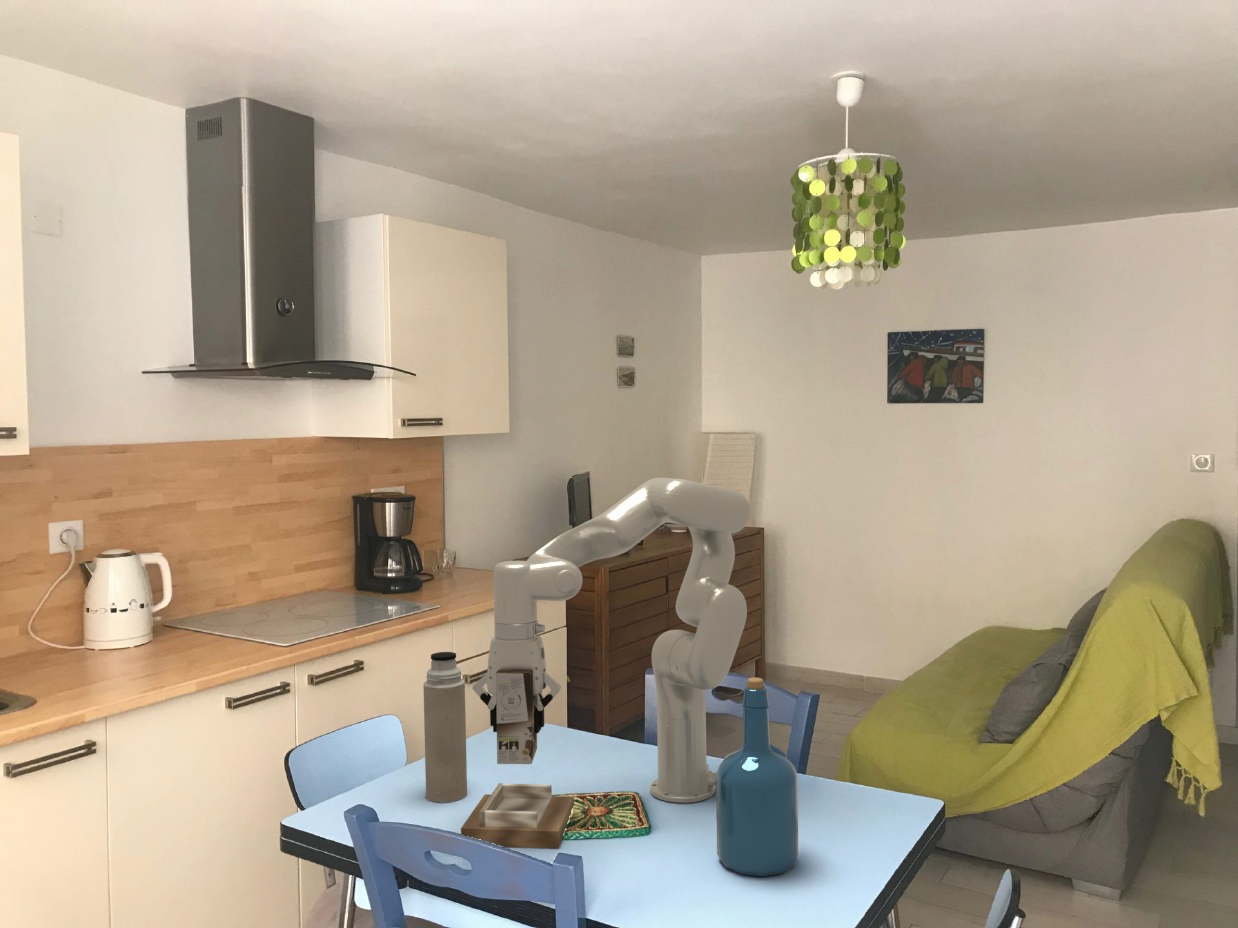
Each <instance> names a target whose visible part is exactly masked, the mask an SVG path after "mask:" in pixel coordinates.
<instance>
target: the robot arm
mask: <svg viewBox="0 0 1238 928" xmlns="http://www.w3.org/2000/svg"><path fill="white" fill-rule="evenodd" d="M750 517H751V505H750V503H749V501H748V499H747V497H745V495H744V494H742V493H741V492H740V491H738V490H735V489H733V488H726V487H720V486H716V485H712V484H707V483H702V482H701V483H700V482H696V481H693V480H689V479H683V478H673V477H654V478H651V479H649V480H646V481H645V482H643V483H642V484H640V485H639V486H638V487H636V488H635V489H633V490H632V491H631V492H629V493H628V494H627V495H625V496H624V497H622V498H621V499H620V500H618V501H617V502H616V503H615V504H613V505H612V506H610V507H609V508H608V509H607V510H604V512H602V513H600V514H599V515H598V516H596V517H594V518H591V519H589V520H587V521H585V522H583V523H581V524H580V525H577V526H575V527H573V528H571V529H569V530H567V531H565V532H563V533H561V534H560V535H558V536H556V537H555V538H553V539H552V540H550V541H549V542H547V543H546V544H544V545H543V546H542V547H541V548H539V549H537V551H535V552H534V553H532V554H531V555H530V556H529V557H528V558H527V560H506V561H501V562H498V563H497V564H496V565H495V566H494V569H493V604H494V605H493V609H494V610H493V613H494V615H493V616H494V622H493V623H494V637H491V640H490V644H489V649H488V650H489V651H488V658H487V659H488V660H487V661H488V662H487V672H486V674H484V675H483V676H482V677H481V678H480V679H479V680H478V681H477V682H476V683H475V684H473V686H472V690H473V692H475V694H476V695H477V696H479V699H480V701H482V702H483V703H484V705H486V706H487V709H488V710H489V717H490V718H489V723H490V726H491V727H492V729H493V730H492V732H493V733H497V716H496V715H497V713H496V672H497V671H498V670H532V671H533V695H534V704H535V706H536V709H535V711H534V732H535V733H537V734H540V731H541V730H542V728H544V727H545V708H546V707H547V706H548V705H549V704H550V702H552V701H553V699H554V698H555V697H556V696H557V695H558V694H559V692H560V691H561V690H562V685H560V684H559V682H557V681H556V680H555V679H554V678H553V677H552V676H550V675H549V674H548V673H547V665H546V655H545V654H546V653H545V646H544V642H543V638H542V637H541V636H538V635H539V634H541V633H545V632H546V625H545V624H541V623H540V622H539V620H538V617H537V615H538V613H537V612H538V611H537V610H538V609H537V607H538V606H537V603H538V602H537V601H548V602H551V601H552V602H564V601H568V600H570V599H573V597H575V596H576V595H577V594H579V592H580V590H581V588H582V585H583V575H582V572H581V569H580V568H581V567H582V566H584V565H586V564H588V563H591V562H594V561H597V560H601V559H608V558H613V557H617V556H620V555H622V554H624V553H627V552H628V551H630V550H631V549H632V548H633V547H635V546H636V545H637V544H639V543H640V542H641V541H642V540H644V539H645V538H647V537H648V536H649V535H650V534H651V533H653V532H654V531H655V530H657V529H658V528H660V527H661V526H662V525H664V524H666V523H669V524H675V525H681V526H685V527H687V528H688V530H689V532H690V535H691V540H692V551H691V556H690V560H689V563H688V566H687V568H686V571H685V575H684V577H683V581H682V584H681V585H680V589H679V592H678V594H677V597H676V602H675V612H676V615H677V617H678V618H679V619H680V620H682V622H683V623H685V624H687V625H689V626H691V627H695V628H696V632H695V633H693V632H690V631H687V630H684V629H671V630H667V631H665V632H663V633H662V634H660V635H659V636H658V637H657V638H656V640H655V642H654V643H653V645H652V650H651V666H652V670H653V677H654V681H655V683H654V684H655V690H656V722H657V724H656V726H657V727H656V728H657V731H656V732H657V779H655V780H653V781H652V782H651V784H650V790H649V791H650V793H651V795H652V796H653V797H655V798H656V799H658V800H661V801H665V802H669V803H679V804H682V803H683V804H684V803H686V804H688V803H689V804H690V803H696V802H702V801H705V800H708V799H710V798H711V797H712V796H713V795H714V794H716V773H717V772H713V771H712V770H709V764H707V717H706V716H707V714H706V713H707V710H706V709H707V703H706V702H707V701H706V697H705V696H706V695H705V691H709V690H713V689H716V688H717V687H718V686H720V685H721V684H722V683H723V681H724V680H725V679H726V677H727V675H729V672H730V669H731V666H732V664H733V660H734V658H735V656H736V652H737V650H738V647H739V645H740V640H741V637H742V635H743V631H744V628H745V625H746V623H747V622H746V621H747V616H748V609H747V607H748V606H747V601H746V598H745V596H744V595H743V593H742V592H741V591H740V590H739V588H738V587H735V586H734V585H731V584H729V582H730V579H731V576H732V572H733V568H734V564H735V557H736V550H735V549H736V548H735V543H734V540H733V536H732V534H735V533H738V532H740V531H742V530H743V529H744V528H745V527H746V526H747V524H748V523H749V520H750ZM579 567H580V568H579ZM485 685H486V686H487V687H486V688H487V691H486V690H485V688H484V686H485ZM547 687H549V689H550V691H549V692H548V693H547V694H546V695H543V694H542V693H543V690H545V689H546V688H547Z"/></svg>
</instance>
